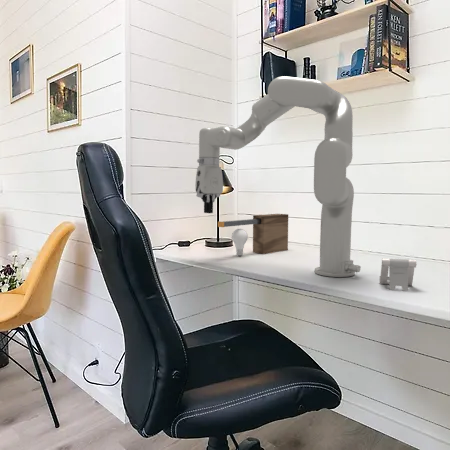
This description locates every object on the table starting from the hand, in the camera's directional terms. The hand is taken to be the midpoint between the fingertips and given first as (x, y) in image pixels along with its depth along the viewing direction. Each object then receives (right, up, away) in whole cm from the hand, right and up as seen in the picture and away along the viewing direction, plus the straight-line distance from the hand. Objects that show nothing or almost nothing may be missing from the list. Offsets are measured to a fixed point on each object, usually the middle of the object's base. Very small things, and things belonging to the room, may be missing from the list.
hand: (208, 212), depth 158 cm
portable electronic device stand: (+55, -22, -38) cm, 70 cm away
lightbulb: (+12, -17, +12) cm, 24 cm away
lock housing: (+26, -16, +25) cm, 40 cm away
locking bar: (+13, -5, +12) cm, 19 cm away
